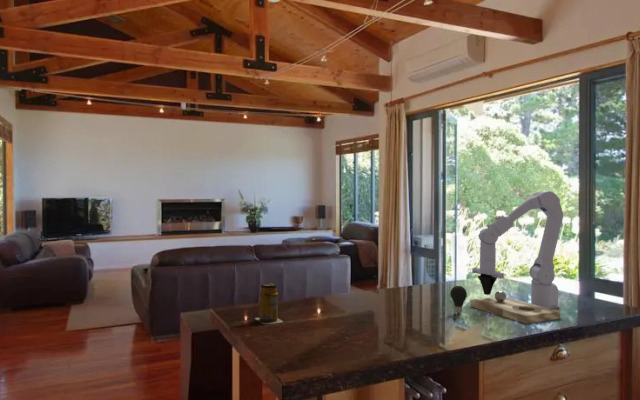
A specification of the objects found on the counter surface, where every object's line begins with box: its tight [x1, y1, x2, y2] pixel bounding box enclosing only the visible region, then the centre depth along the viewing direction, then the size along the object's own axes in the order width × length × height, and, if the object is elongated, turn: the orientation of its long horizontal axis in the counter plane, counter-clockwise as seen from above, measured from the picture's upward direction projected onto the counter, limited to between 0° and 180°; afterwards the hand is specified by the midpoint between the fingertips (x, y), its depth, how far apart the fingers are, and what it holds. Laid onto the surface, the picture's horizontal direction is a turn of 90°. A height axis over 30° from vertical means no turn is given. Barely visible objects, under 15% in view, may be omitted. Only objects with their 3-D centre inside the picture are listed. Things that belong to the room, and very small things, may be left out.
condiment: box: [254, 282, 284, 325], centre depth 153 cm, size 7×8×12 cm
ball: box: [494, 290, 507, 302], centre depth 172 cm, size 4×4×4 cm
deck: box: [470, 296, 561, 325], centre depth 167 cm, size 16×26×2 cm, turn 24°
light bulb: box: [450, 285, 468, 315], centre depth 164 cm, size 6×6×10 cm
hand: (487, 294), depth 178 cm, fingers closed
